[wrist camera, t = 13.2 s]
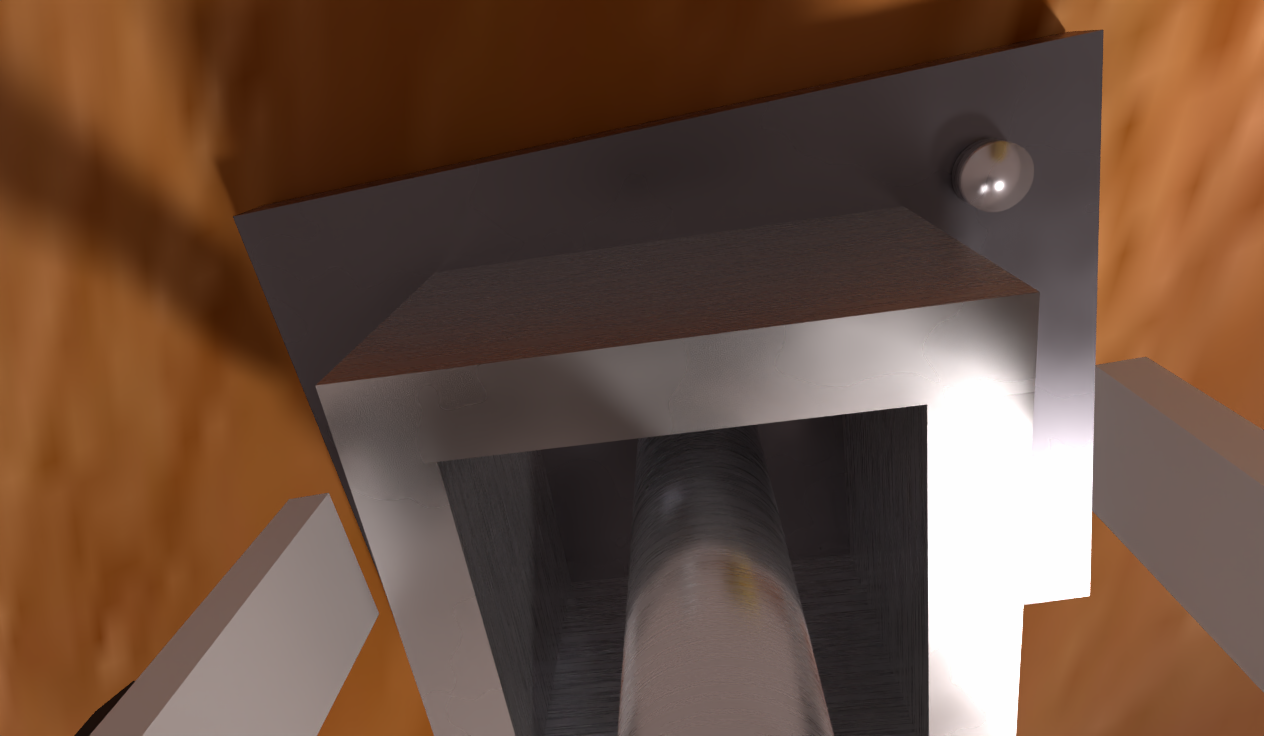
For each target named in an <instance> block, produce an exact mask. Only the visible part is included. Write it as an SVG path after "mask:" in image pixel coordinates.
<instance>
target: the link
mask: <svg viewBox="0 0 1264 736" xmlns="http://www.w3.org/2000/svg"><path fill="white" fill-rule="evenodd" d="M1039 301H1040V292H1039V291H1037V290H1036V289H1034V288H1033V287H1031V286H1030V285H1028V284H1026V283H1025V282H1023V281H1022V280H1020V279H1018V278H1017V277H1015V276H1014V275H1012V274H1010V273H1009V272H1007V271H1006V270H1004V269H1002V268H1001V267H999V266H998V265H996V264H995V263H993V262H991V261H990V260H988V259H987V258H985V257H983V256H982V255H980V254H979V253H977V252H975V251H974V250H972V249H971V248H969V247H967V246H966V245H964V244H963V243H961V242H959V241H958V240H956V239H955V238H953V237H952V236H950V235H948V234H947V233H945V232H944V231H942V230H940V229H939V228H937V227H936V226H934V225H932V224H931V223H929V222H928V221H926V220H924V219H923V218H921V217H920V216H918V215H917V214H915V213H913V212H912V211H910V210H909V209H907V208H905V207H904V206H900V207H893V208H886V209H879V210H872V211H865V212H858V213H850V214H843V215H836V216H829V217H822V218H815V219H808V220H801V221H794V222H787V223H780V224H773V225H766V226H759V227H752V228H745V229H738V230H731V231H724V232H717V233H710V234H702V235H695V236H688V237H681V238H674V239H667V240H660V241H653V242H646V243H639V244H632V245H625V246H618V247H611V248H604V249H597V250H590V251H583V252H576V253H569V254H561V255H554V256H547V257H540V258H533V259H526V260H519V261H512V262H505V263H498V264H491V265H484V266H477V267H470V268H463V269H456V270H449V271H442V272H435V273H434V274H433V275H432V276H431V277H430V278H429V279H428V280H427V281H426V282H424V283H423V284H422V285H421V286H420V287H419V288H418V289H417V290H416V291H415V292H414V293H413V294H412V295H411V296H410V297H409V298H408V299H406V300H405V301H404V302H403V303H402V304H401V305H400V306H399V307H398V308H397V309H396V310H395V311H394V312H393V313H392V314H391V315H390V316H388V317H387V318H386V319H385V320H384V321H383V322H382V323H381V324H380V325H379V326H378V327H377V328H376V329H375V330H374V331H373V332H372V333H370V334H369V335H368V336H367V337H366V338H365V339H364V340H363V341H362V342H361V343H360V344H359V345H358V346H357V347H356V348H355V349H354V350H352V351H351V352H350V353H349V354H348V355H347V356H346V357H345V358H344V359H343V360H342V361H341V362H340V363H339V364H338V365H337V366H336V367H334V368H333V369H332V370H331V371H330V372H329V373H328V374H327V375H326V376H325V377H324V378H323V379H322V380H321V381H320V382H319V383H317V384H316V385H315V387H316V389H317V392H318V395H319V398H320V401H321V404H322V407H323V410H324V413H325V416H326V419H327V422H328V425H329V428H330V431H331V434H332V437H333V439H334V442H335V445H336V448H337V451H338V454H339V457H340V460H341V463H342V466H343V469H344V472H345V475H346V478H347V481H348V484H349V486H350V489H351V492H352V495H353V498H354V501H355V504H356V507H357V510H358V513H359V516H360V519H361V522H362V525H363V528H364V531H365V534H366V536H367V539H368V542H369V545H370V548H371V551H372V554H373V557H374V560H375V563H376V566H377V569H378V572H379V575H380V578H381V581H382V583H383V586H384V589H385V592H386V595H387V598H388V601H389V604H390V607H391V610H392V613H393V616H394V619H395V622H396V625H397V628H398V631H399V633H400V636H401V639H402V642H403V645H404V648H405V651H406V654H407V657H408V660H409V663H410V666H411V669H412V672H413V675H414V678H415V680H416V683H417V686H418V689H419V692H420V695H421V698H422V701H423V704H424V707H425V710H426V713H427V716H428V719H429V722H430V725H431V728H432V730H433V733H434V736H617V735H618V720H619V706H620V691H621V677H622V662H623V648H624V633H625V619H626V604H627V590H628V577H624V578H614V579H604V580H594V581H584V582H574V583H571V580H570V576H569V571H568V567H567V563H566V558H565V554H564V549H563V545H562V540H561V536H560V531H559V527H558V522H557V518H556V514H555V509H554V505H553V500H552V496H551V491H550V487H549V482H548V478H547V473H546V469H545V464H544V460H543V456H542V451H541V450H542V449H551V448H560V447H568V446H577V445H585V444H594V443H602V442H611V441H619V440H628V439H636V438H645V437H653V436H662V435H670V434H679V433H688V432H696V431H705V430H713V429H722V428H730V427H739V426H747V425H756V424H764V423H773V422H781V421H790V420H798V419H807V418H816V417H824V416H833V415H841V414H842V417H843V436H844V456H845V475H846V494H847V513H848V532H849V551H850V555H845V556H835V557H825V558H815V559H805V560H795V561H791V565H792V569H793V573H794V577H795V581H796V585H797V589H798V593H799V597H800V601H801V605H802V609H803V613H804V617H805V621H806V625H807V629H808V633H809V637H810V641H811V645H812V649H813V653H814V657H815V661H816V665H817V669H818V673H819V677H820V681H821V685H822V689H823V693H824V697H825V701H826V705H827V709H828V713H829V717H830V721H831V725H832V729H833V733H834V736H1016V727H1017V708H1018V690H1019V671H1020V653H1021V634H1022V616H1023V597H1024V579H1025V560H1026V541H1027V523H1028V504H1029V486H1030V467H1031V449H1032V430H1033V412H1034V393H1035V375H1036V356H1037V338H1038V319H1039Z"/></svg>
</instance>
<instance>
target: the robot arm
mask: <svg viewBox="0 0 1264 736" xmlns="http://www.w3.org/2000/svg"><path fill="white" fill-rule="evenodd" d="M1092 511H1093V512H1094V513H1095V514H1096V515H1097V516H1098V517H1099V518H1100V519H1101V520H1102V521H1103V522H1104V523H1105V525H1106V526H1107V527H1108V528H1109V529H1110V530H1111V531H1112V532H1113V533H1114V534H1115V535H1116V536H1117V537H1118V538H1119V539H1120V540H1121V542H1122V543H1123V544H1124V545H1125V546H1126V547H1127V548H1128V549H1129V550H1130V551H1131V552H1132V553H1133V554H1134V555H1135V556H1136V557H1137V559H1138V560H1139V561H1140V562H1141V563H1142V564H1143V565H1144V566H1145V567H1146V568H1147V569H1148V570H1149V571H1150V572H1151V573H1152V574H1153V575H1154V577H1155V578H1156V579H1157V580H1158V581H1159V582H1160V583H1161V584H1162V585H1163V586H1164V587H1165V588H1166V589H1167V590H1168V591H1169V592H1170V594H1171V595H1172V596H1173V597H1174V598H1175V599H1176V600H1177V601H1178V602H1179V603H1180V604H1181V605H1182V606H1183V607H1184V608H1185V609H1186V611H1187V612H1188V613H1189V614H1190V615H1191V616H1192V617H1193V618H1194V619H1195V620H1196V621H1197V622H1198V623H1199V624H1200V625H1201V626H1202V628H1203V629H1204V630H1205V631H1206V632H1207V633H1208V634H1209V635H1210V636H1211V637H1212V638H1213V639H1214V640H1215V641H1216V642H1217V643H1218V645H1219V646H1220V647H1221V648H1222V649H1223V650H1224V651H1225V652H1226V653H1227V654H1228V655H1229V656H1230V657H1231V658H1232V659H1233V660H1234V661H1235V663H1236V664H1237V665H1238V666H1239V667H1240V668H1241V669H1242V670H1243V671H1244V672H1245V673H1246V674H1247V675H1248V676H1249V677H1250V678H1251V680H1252V681H1253V682H1254V683H1255V684H1256V685H1257V686H1258V687H1259V688H1260V689H1261V690H1262V691H1263V692H1264V430H1262V429H1261V428H1259V427H1258V426H1256V425H1254V424H1253V423H1251V422H1250V421H1248V420H1246V419H1245V418H1243V417H1242V416H1240V415H1238V414H1237V413H1235V412H1234V411H1232V410H1230V409H1229V408H1227V407H1226V406H1224V405H1222V404H1221V403H1219V402H1218V401H1216V400H1214V399H1213V398H1211V397H1210V396H1208V395H1206V394H1205V393H1203V392H1202V391H1200V390H1198V389H1197V388H1195V387H1194V386H1192V385H1190V384H1189V383H1187V382H1186V381H1184V380H1182V379H1181V378H1179V377H1178V376H1176V375H1174V374H1173V373H1171V372H1170V371H1168V370H1166V369H1165V368H1163V367H1162V366H1160V365H1158V364H1157V363H1155V362H1154V361H1152V360H1150V359H1149V358H1147V357H1142V358H1136V359H1130V360H1124V361H1118V362H1112V363H1106V364H1100V365H1095V400H1094V441H1093V482H1092ZM378 615H379V612H378V610H377V607H376V605H375V603H374V600H373V598H372V595H371V593H370V591H369V588H368V586H367V583H366V581H365V579H364V576H363V574H362V571H361V569H360V567H359V564H358V562H357V559H356V557H355V555H354V552H353V550H352V547H351V545H350V543H349V540H348V538H347V535H346V533H345V531H344V528H343V526H342V523H341V521H340V519H339V516H338V514H337V511H336V509H335V507H334V504H333V502H332V499H331V497H330V495H329V493H325V494H319V495H313V496H307V497H301V498H295V499H289V500H288V501H287V503H286V504H285V505H284V506H283V507H282V509H281V510H280V511H279V512H278V513H277V514H276V516H275V517H274V518H273V519H272V520H271V522H270V523H269V524H268V525H267V526H266V527H265V529H264V530H263V531H262V532H261V533H260V535H259V536H258V537H257V538H256V539H255V540H254V542H253V543H252V544H251V545H250V546H249V548H248V549H247V550H246V551H245V552H244V553H243V555H242V556H241V557H240V558H239V559H238V561H237V562H236V563H235V564H234V565H233V566H232V568H231V569H230V570H229V571H228V572H227V574H226V575H225V576H224V577H223V578H222V580H221V581H220V582H219V583H218V584H217V585H216V587H215V588H214V589H213V590H212V591H211V593H210V594H209V595H208V596H207V597H206V598H205V600H204V601H203V602H202V603H201V604H200V606H199V607H198V608H197V609H196V610H195V611H194V613H193V614H192V615H191V616H190V617H189V619H188V620H187V621H186V622H185V623H184V624H183V626H182V627H181V628H180V629H179V630H178V632H177V633H176V634H175V635H174V636H173V637H172V639H171V640H170V641H169V642H168V643H167V645H166V646H165V647H164V648H163V649H162V650H161V652H160V653H159V654H158V655H157V656H156V658H155V659H154V660H153V661H152V662H151V663H150V665H149V666H148V667H147V668H146V669H145V671H144V672H143V673H142V674H141V675H140V676H139V678H138V679H137V680H136V681H133V682H131V683H130V684H129V685H128V686H126V687H125V688H124V689H123V690H121V691H120V692H119V693H118V694H117V695H115V696H114V697H113V698H112V699H110V700H109V701H108V702H107V703H105V704H104V705H103V706H102V707H100V708H99V709H98V710H97V711H95V713H94V714H93V715H92V716H91V717H90V718H89V720H88V721H87V722H86V723H85V724H84V725H83V726H82V728H81V729H80V730H79V731H78V732H77V733H76V734H75V736H317V734H318V732H319V730H320V728H321V726H322V724H323V723H324V721H325V719H326V717H327V715H328V713H329V711H330V709H331V707H332V705H333V703H334V701H335V699H336V697H337V695H338V693H339V691H340V689H341V687H342V685H343V683H344V681H345V680H346V678H347V676H348V674H349V672H350V670H351V668H352V666H353V664H354V662H355V660H356V658H357V656H358V654H359V652H360V650H361V648H362V646H363V644H364V642H365V640H366V638H367V636H368V635H369V633H370V631H371V629H372V627H373V625H374V623H375V621H376V619H377V617H378Z"/></svg>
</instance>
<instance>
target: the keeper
mask: <svg viewBox="0 0 1264 736" xmlns="http://www.w3.org/2000/svg"><path fill="white" fill-rule="evenodd" d="M1102 67H1103V30H1089V31H1073V32H1065V33H1060V34H1056V35H1051V36H1046V37H1042V38H1037V39H1032V40H1028V41H1023V42H1018V43H1014V44H1009V45H1005V46H1000V47H995V48H991V49H986V50H981V51H977V52H972V53H967V54H963V55H958V56H954V57H949V58H944V59H940V60H935V61H930V62H926V63H921V64H916V65H912V66H907V67H903V68H898V69H893V70H889V71H884V72H879V73H875V74H870V75H865V76H861V77H856V78H851V79H847V80H842V81H838V82H833V83H828V84H824V85H819V86H814V87H810V88H805V89H800V90H796V91H791V92H787V93H782V94H777V95H773V96H768V97H763V98H759V99H754V100H749V101H745V102H740V103H736V104H731V105H726V106H722V107H717V108H712V109H708V110H703V111H698V112H694V113H689V114H685V115H680V116H675V117H671V118H666V119H661V120H657V121H652V122H647V123H643V124H638V125H634V126H629V127H624V128H620V129H615V130H610V131H606V132H601V133H596V134H592V135H587V136H583V137H578V138H573V139H569V140H564V141H559V142H555V143H550V144H545V145H541V146H536V147H532V148H527V149H522V150H518V151H513V152H508V153H504V154H499V155H494V156H490V157H485V158H481V159H476V160H471V161H467V162H462V163H457V164H453V165H448V166H443V167H439V168H434V169H430V170H425V171H420V172H416V173H411V174H406V175H402V176H397V177H392V178H388V179H383V180H379V181H374V182H369V183H365V184H360V185H355V186H351V187H346V188H341V189H337V190H332V191H327V192H323V193H318V194H314V195H309V196H304V197H300V198H295V199H290V200H286V201H281V202H276V203H272V204H267V205H263V206H260V207H258V208H255V209H252V210H250V211H247V212H244V213H242V214H239V215H236V216H233V218H234V220H235V223H236V225H237V228H238V230H239V233H240V235H241V238H242V240H243V243H244V245H245V247H246V250H247V252H248V255H249V257H250V260H251V262H252V265H253V267H254V270H255V272H256V274H257V277H258V279H259V282H260V284H261V287H262V289H263V292H264V294H265V297H266V299H267V301H268V304H269V306H270V309H271V311H272V314H273V316H274V319H275V321H276V324H277V326H278V328H279V331H280V333H281V336H282V338H283V341H284V343H285V346H286V348H287V351H288V353H289V356H290V358H291V360H292V363H293V365H294V368H295V370H296V373H297V375H298V378H299V380H300V383H301V385H302V387H303V390H304V392H305V395H306V397H307V400H308V402H309V405H310V407H311V410H312V412H313V414H314V417H315V419H316V422H317V424H318V427H319V429H320V432H321V434H322V437H323V439H324V441H325V444H326V446H327V449H328V451H329V454H330V456H331V459H332V461H333V464H334V466H335V468H336V471H337V473H338V476H339V478H340V481H341V483H342V486H343V488H344V491H345V493H346V495H347V498H348V500H349V503H350V505H351V508H352V510H353V513H354V515H355V518H356V520H357V522H358V525H359V527H360V530H361V532H362V535H363V537H364V540H365V542H366V545H367V547H368V550H369V552H370V554H371V557H372V559H373V562H374V564H375V567H376V569H377V566H376V563H375V560H374V557H373V554H372V551H371V548H370V545H369V542H368V539H367V536H366V534H365V531H364V528H363V525H362V522H361V519H360V516H359V513H358V510H357V507H356V504H355V501H354V498H353V495H352V492H351V489H350V486H349V484H348V481H347V478H346V475H345V472H344V469H343V466H342V463H341V460H340V457H339V454H338V451H337V448H336V445H335V442H334V439H333V437H332V434H331V431H330V428H329V425H328V422H327V419H326V416H325V413H324V410H323V407H322V404H321V401H320V398H319V395H318V392H317V389H316V387H315V385H316V384H317V383H319V382H320V381H321V380H322V379H323V378H324V377H325V376H326V375H327V374H328V373H329V372H330V371H331V370H332V369H333V368H334V367H336V366H337V365H338V364H339V363H340V362H341V361H342V360H343V359H344V358H345V357H346V356H347V355H348V354H349V353H350V352H351V351H352V350H354V349H355V348H356V347H357V346H358V345H359V344H360V343H361V342H362V341H363V340H364V339H365V338H366V337H367V336H368V335H369V334H370V333H372V332H373V331H374V330H375V329H376V328H377V327H378V326H379V325H380V324H381V323H382V322H383V321H384V320H385V319H386V318H387V317H388V316H390V315H391V314H392V313H393V312H394V311H395V310H396V309H397V308H398V307H399V306H400V305H401V304H402V303H403V302H404V301H405V300H406V299H408V298H409V297H410V296H411V295H412V294H413V293H414V292H415V291H416V290H417V289H418V288H419V287H420V286H421V285H422V284H423V283H424V282H426V281H427V280H428V279H429V278H430V277H431V276H432V275H433V274H434V273H435V272H442V271H449V270H456V269H463V268H470V267H477V266H484V265H491V264H498V263H505V262H512V261H519V260H526V259H533V258H540V257H547V256H554V255H561V254H569V253H576V252H583V251H590V250H597V249H604V248H611V247H618V246H625V245H632V244H639V243H646V242H653V241H660V240H667V239H674V238H681V237H688V236H695V235H702V234H710V233H717V232H724V231H731V230H738V229H745V228H752V227H759V226H766V225H773V224H780V223H787V222H794V221H801V220H808V219H815V218H822V217H829V216H836V215H843V214H850V213H858V212H865V211H872V210H879V209H886V208H893V207H900V206H904V207H905V208H907V209H909V210H910V211H912V212H913V213H915V214H917V215H918V216H920V217H921V218H923V219H924V220H926V221H928V222H929V223H931V224H932V225H934V226H936V227H937V228H939V229H940V230H942V231H944V232H945V233H947V234H948V235H950V236H952V237H953V238H955V239H956V240H958V241H959V242H961V243H963V244H964V245H966V246H967V247H969V248H971V249H972V250H974V251H975V252H977V253H979V254H980V255H982V256H983V257H985V258H987V259H988V260H990V261H991V262H993V263H995V264H996V265H998V266H999V267H1001V268H1002V269H1004V270H1006V271H1007V272H1009V273H1010V274H1012V275H1014V276H1015V277H1017V278H1018V279H1020V280H1022V281H1023V282H1025V283H1026V284H1028V285H1030V286H1031V287H1033V288H1034V289H1036V290H1037V291H1039V292H1040V301H1039V319H1038V338H1037V356H1036V375H1035V393H1034V412H1033V430H1032V449H1031V467H1030V486H1029V504H1028V523H1027V541H1026V560H1025V579H1024V597H1023V605H1025V604H1033V603H1040V602H1048V601H1055V600H1063V599H1070V598H1078V597H1085V596H1090V561H1091V520H1092V479H1093V437H1094V396H1095V355H1096V314H1097V273H1098V232H1099V190H1100V149H1101V108H1102ZM541 451H542V456H543V460H544V464H545V469H546V473H547V478H548V482H549V487H550V491H551V496H552V500H553V505H554V509H555V514H556V518H557V522H558V527H559V531H560V536H561V540H562V545H563V549H564V554H565V558H566V563H567V567H568V571H569V576H570V580H571V583H574V582H584V581H594V580H604V579H614V578H624V577H628V590H627V604H626V619H625V633H624V648H623V662H622V677H621V691H620V706H619V720H618V735H617V736H834V733H833V729H832V725H831V721H830V717H829V713H828V709H827V705H826V701H825V697H824V693H823V689H822V685H821V681H820V677H819V673H818V669H817V665H816V661H815V657H814V653H813V649H812V645H811V641H810V637H809V633H808V629H807V625H806V621H805V617H804V613H803V609H802V605H801V601H800V597H799V593H798V589H797V585H796V581H795V577H794V573H793V569H792V565H791V561H795V560H805V559H815V558H825V557H835V556H845V555H850V551H849V532H848V513H847V494H846V475H845V456H844V436H843V417H842V414H841V415H833V416H824V417H816V418H807V419H798V420H790V421H781V422H773V423H764V424H756V425H747V426H739V427H730V428H722V429H713V430H705V431H696V432H688V433H679V434H670V435H662V436H653V437H645V438H636V439H628V440H619V441H611V442H602V443H594V444H585V445H577V446H568V447H560V448H551V449H542V450H541ZM377 572H378V569H377ZM378 574H379V572H378ZM379 577H380V575H379ZM380 579H381V578H380ZM382 584H383V583H382Z"/></svg>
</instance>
